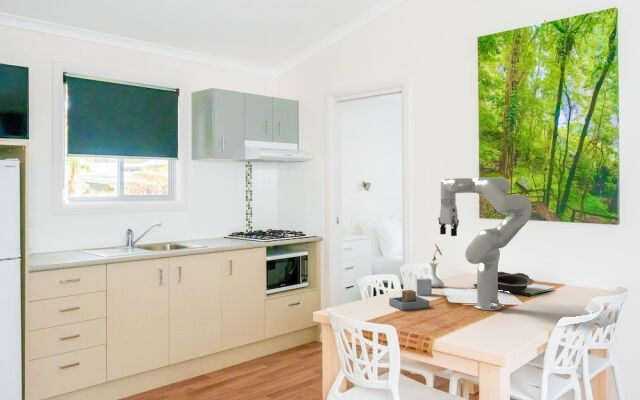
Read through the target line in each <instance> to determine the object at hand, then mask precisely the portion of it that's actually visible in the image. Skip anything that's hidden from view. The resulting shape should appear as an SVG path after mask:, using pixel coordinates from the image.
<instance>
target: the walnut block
mask: <svg viewBox="0 0 640 400" xmlns="http://www.w3.org/2000/svg"><path fill="white" fill-rule="evenodd" d="M416 296H417V291H415V290H413V289H406V290H401V297H402V303H408V302H416Z"/></svg>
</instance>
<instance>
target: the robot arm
mask: <svg viewBox="0 0 640 400" xmlns="http://www.w3.org/2000/svg"><path fill="white" fill-rule="evenodd" d="M510 191H511V182H510V181H509V180H508V179H506V178H504V177H483V176H482V177H479V178H478V177H476V178H474V177H473V178H471V177H466V178H465V177H464V178H463V177H460V178H459V177H457V178H456V177H455V178H443V179H441V180H440V208H439V209H440V211H439V217H438V218H437V220H438V224H439V235H446V234H447V226H446V225H450V236H451V237H457V236H458V233H457V232H458V227H459V222H460V220H459V217H458V208H457V205H456V203H457V202H456V200H457V198H456V194H467V193H470V194H478V195H479V196H484V198H485V199H486V201H487V202H489V204H490V205H491V206H492V207H493V208H494V210H495V211H496V212H498V213H499V214H501V215H507V216H506V217H505V218H504V219H502V221H501V222H500V223H499V224H498V225H497V226H495V227H493V228H486V229H483V230H481V231H480V232H478V233H477V235H476V236H475V237H474V239H473V240H472V241H471V242H470V243H469V244H468V246H467V247H466V249H465V259H466V261H467V262H468V263H470V264H472V265H478V266H477V271H476V274H477V275H476V289H477V290H476V295H477V296H476V297H477V298H476V299H477V300H476V303H474V304H473V307H474V308H475V309H477V310H481V311H498V310H501V309H502V306H503V305H502V303H500V300H499V293H498V272H499V271H498V270H499V261H500V255H501V253H500V252H501V251H500V249H503V248H505V247H507V245H508V244H509V243H510V242H511V241H513V239H514V237H516V235H517V234H518V233H519V232H520V231H521V229H523V227H525V226H526V224H527V223H528V222H529V220H530V218H531V215H532V212H533V205H532V202H531V200H530V199H529V198H528V197H527V196H526V195H522V194H508V193H509V192H510ZM507 194H508V195H507Z"/></svg>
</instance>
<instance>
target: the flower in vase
mask: <svg viewBox="0 0 640 400" xmlns="http://www.w3.org/2000/svg"><path fill="white" fill-rule="evenodd" d="M434 245H435V248H436V249H435V253H434V254H433V258H432V259H431V261H432V262H429V265H430V267H431V268H430V269H431V275H430V276H429V278H431V280H432V288H441V287H443V286H444V285H445V283H444V282H443V281H442V279H440V278H439V277H438V276H437V266H438V264H439V263H438V262H435V261H437V257H436V256H435V255H436V253H437V252H438V254H439V255H440V256H443V253H442V252H441V249H440V248H439V246H438V244H437V243H434Z"/></svg>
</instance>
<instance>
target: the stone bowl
mask: <svg viewBox="0 0 640 400" xmlns="http://www.w3.org/2000/svg"><path fill="white" fill-rule="evenodd" d="M533 283H535V281H534V279H532V278H530V277H529V275H528V274H525V273H523V272H516V273H511V272H510V273H509V272H505V271H498V290H503V291H509V292H510V294H520V293H521V292H525V291H526V289H527V287H528V286H532V285H533Z"/></svg>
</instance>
